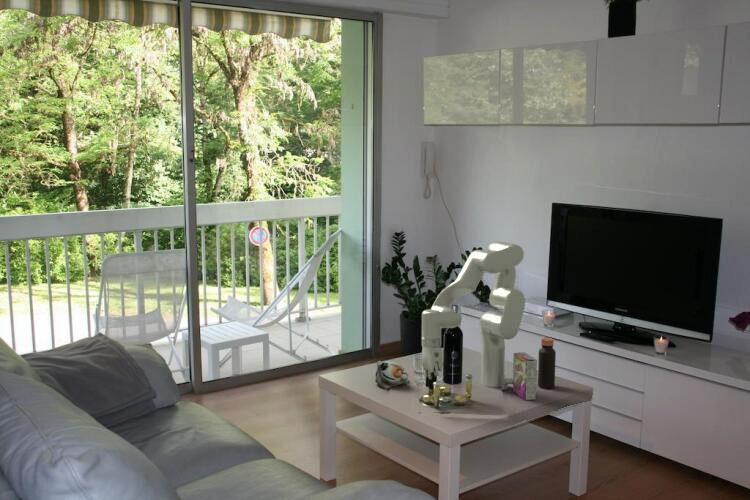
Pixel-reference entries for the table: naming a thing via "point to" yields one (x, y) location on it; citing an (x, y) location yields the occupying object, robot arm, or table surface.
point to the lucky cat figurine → (390, 374)
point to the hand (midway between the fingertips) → (431, 387)
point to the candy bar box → (524, 376)
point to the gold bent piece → (463, 398)
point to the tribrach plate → (446, 403)
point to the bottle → (546, 364)
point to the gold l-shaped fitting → (432, 396)
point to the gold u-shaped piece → (440, 389)
